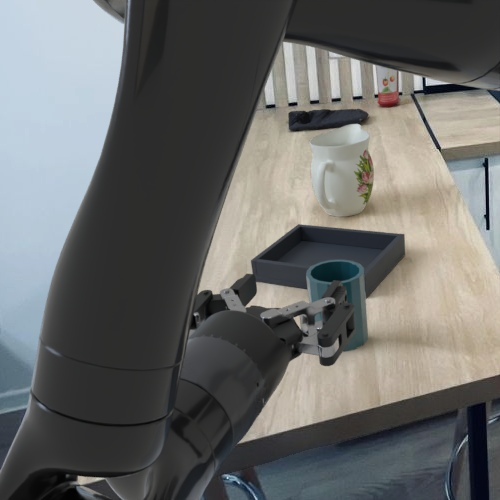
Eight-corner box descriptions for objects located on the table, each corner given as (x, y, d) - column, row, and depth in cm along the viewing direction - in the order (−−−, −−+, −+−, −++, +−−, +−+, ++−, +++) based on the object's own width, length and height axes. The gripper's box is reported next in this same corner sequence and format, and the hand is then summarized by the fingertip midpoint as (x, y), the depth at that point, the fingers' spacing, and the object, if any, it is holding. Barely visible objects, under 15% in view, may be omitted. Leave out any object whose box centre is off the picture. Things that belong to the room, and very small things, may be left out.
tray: (405, 254, 97) (404, 234, 96) (366, 298, 86) (365, 275, 85) (300, 242, 106) (298, 224, 105) (253, 281, 95) (250, 260, 94)
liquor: (403, 102, 199) (400, 4, 188) (398, 107, 193) (394, 6, 182) (379, 103, 202) (375, 7, 191) (373, 108, 196) (368, 9, 185)
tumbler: (377, 341, 76) (372, 263, 72) (355, 369, 71) (349, 287, 67) (328, 332, 79) (321, 256, 75) (305, 358, 74) (296, 279, 71)
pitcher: (293, 228, 113) (285, 150, 107) (333, 194, 127) (327, 124, 122) (354, 233, 107) (348, 151, 102) (388, 196, 122) (384, 123, 116)
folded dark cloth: (364, 128, 174) (363, 110, 172) (284, 132, 181) (282, 115, 179) (371, 115, 188) (370, 98, 186) (296, 120, 195) (295, 104, 193)
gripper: (304, 350, 43) (368, 253, 56) (124, 328, 49) (220, 244, 62) (314, 443, 46) (372, 329, 59) (142, 411, 52) (230, 314, 65)
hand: (294, 286), depth 61 cm, fingers open, 8 cm apart
